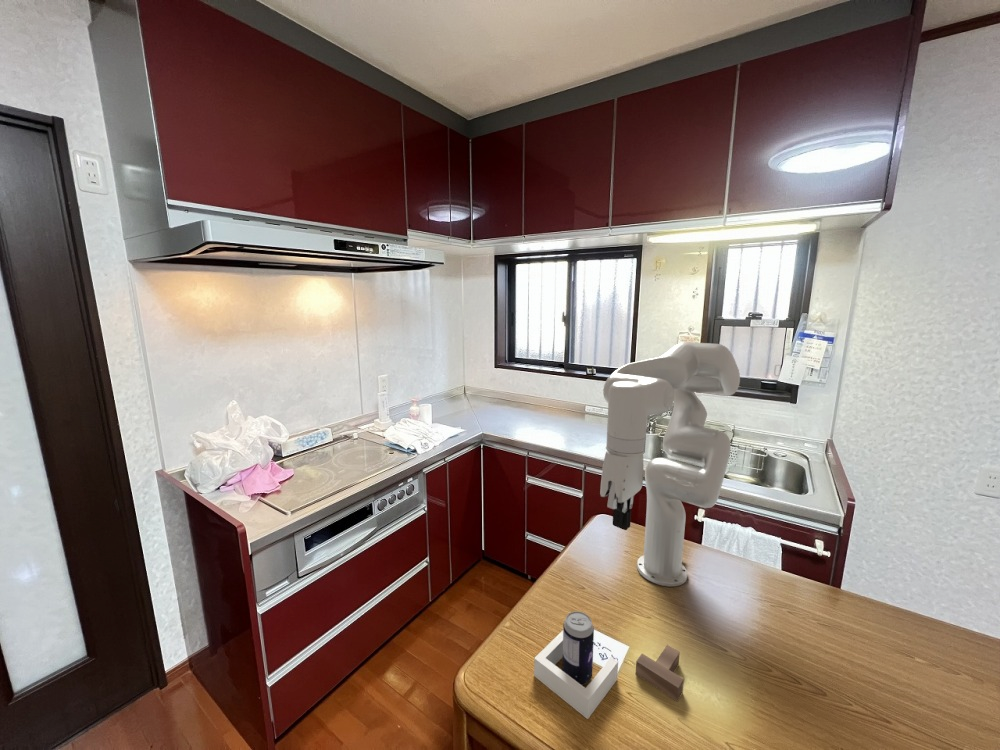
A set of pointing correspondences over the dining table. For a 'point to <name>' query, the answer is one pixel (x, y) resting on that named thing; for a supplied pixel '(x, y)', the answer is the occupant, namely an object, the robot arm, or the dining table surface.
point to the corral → (567, 686)
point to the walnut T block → (662, 672)
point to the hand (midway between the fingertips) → (621, 526)
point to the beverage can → (578, 647)
